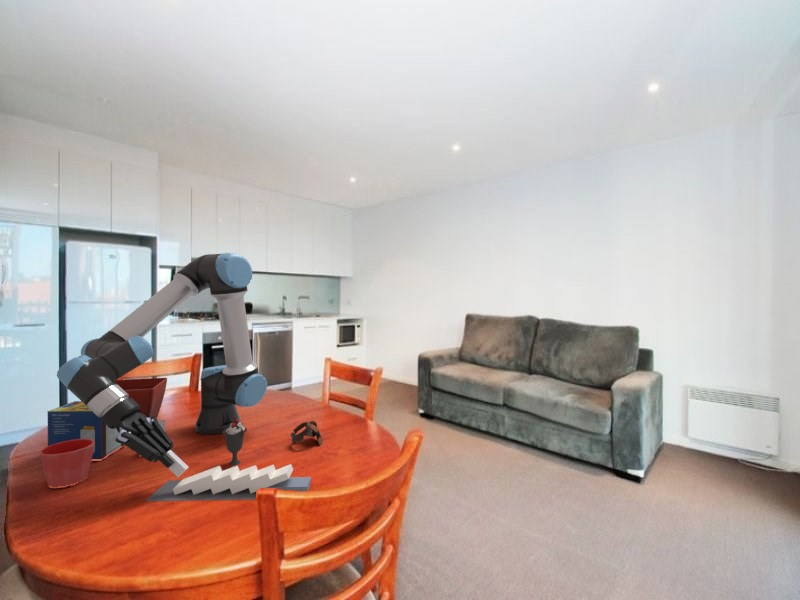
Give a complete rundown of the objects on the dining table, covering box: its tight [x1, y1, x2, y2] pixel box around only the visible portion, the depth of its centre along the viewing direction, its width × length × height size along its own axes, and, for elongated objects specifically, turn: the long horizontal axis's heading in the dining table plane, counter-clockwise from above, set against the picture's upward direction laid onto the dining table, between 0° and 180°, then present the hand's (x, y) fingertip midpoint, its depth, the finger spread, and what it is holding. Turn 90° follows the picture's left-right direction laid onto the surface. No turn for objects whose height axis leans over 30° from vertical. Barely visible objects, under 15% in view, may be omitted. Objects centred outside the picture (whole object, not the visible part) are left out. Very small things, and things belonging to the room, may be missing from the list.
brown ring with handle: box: [290, 420, 323, 446], centre depth 127 cm, size 12×10×8 cm
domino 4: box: [230, 464, 277, 494], centre depth 96 cm, size 5×2×10 cm
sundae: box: [221, 416, 248, 466], centre depth 110 cm, size 7×7×15 cm
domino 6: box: [267, 476, 312, 492], centre depth 96 cm, size 5×2×10 cm
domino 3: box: [211, 464, 259, 494], centre depth 95 cm, size 5×2×10 cm
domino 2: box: [191, 464, 241, 495], centre depth 95 cm, size 5×2×10 cm
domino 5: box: [249, 463, 294, 493], centre depth 96 cm, size 5×2×10 cm
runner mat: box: [144, 479, 257, 502], centre depth 95 cm, size 10×32×1 cm, turn 93°
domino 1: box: [173, 465, 223, 495], centre depth 95 cm, size 5×2×10 cm
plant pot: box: [114, 377, 168, 419], centre depth 137 cm, size 19×19×17 cm
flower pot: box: [39, 439, 95, 487], centre depth 99 cm, size 11×11×10 cm
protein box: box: [47, 400, 123, 459], centre depth 115 cm, size 10×15×16 cm
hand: (183, 472), depth 95 cm, fingers closed
